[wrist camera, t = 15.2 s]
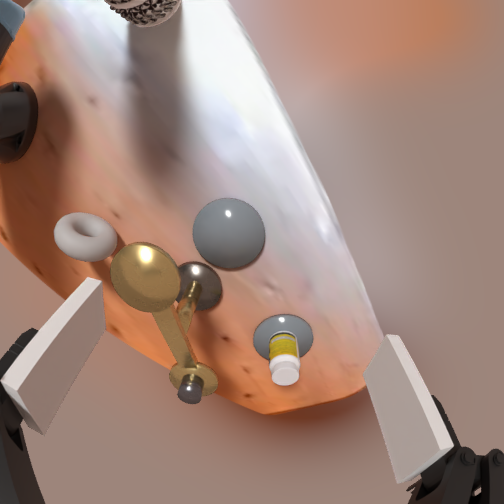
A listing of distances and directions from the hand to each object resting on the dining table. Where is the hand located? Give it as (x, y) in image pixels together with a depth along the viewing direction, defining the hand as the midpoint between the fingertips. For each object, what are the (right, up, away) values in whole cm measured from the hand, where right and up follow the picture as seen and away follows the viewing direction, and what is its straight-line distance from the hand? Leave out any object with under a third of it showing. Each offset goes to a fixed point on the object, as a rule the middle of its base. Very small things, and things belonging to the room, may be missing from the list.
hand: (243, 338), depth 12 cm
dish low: (+6, -11, +35) cm, 37 cm away
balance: (-8, -1, +32) cm, 33 cm away
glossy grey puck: (-3, +6, +28) cm, 29 cm away
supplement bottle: (+6, -11, +34) cm, 37 cm away
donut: (-23, +8, +29) cm, 38 cm away
